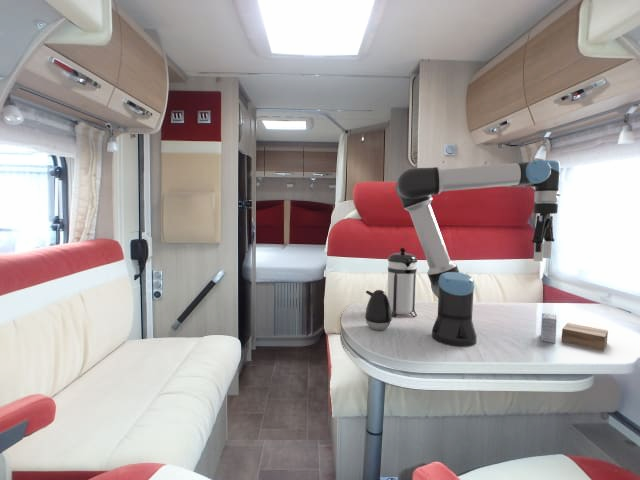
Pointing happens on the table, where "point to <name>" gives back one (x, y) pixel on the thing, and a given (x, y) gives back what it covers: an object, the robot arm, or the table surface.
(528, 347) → the table surface
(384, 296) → the pump dispenser
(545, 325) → the medicine box
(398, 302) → the coffee press
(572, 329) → the walnut block
